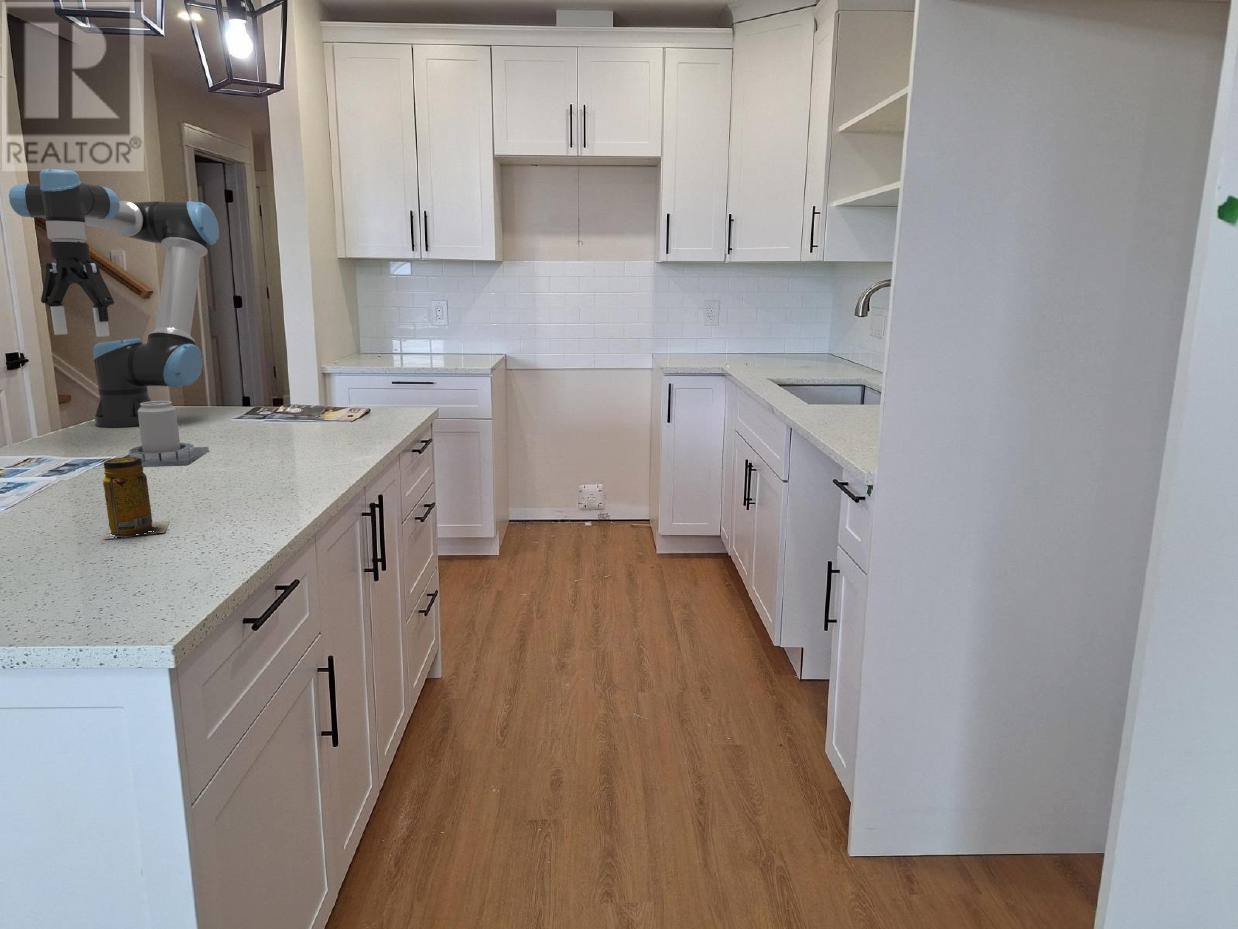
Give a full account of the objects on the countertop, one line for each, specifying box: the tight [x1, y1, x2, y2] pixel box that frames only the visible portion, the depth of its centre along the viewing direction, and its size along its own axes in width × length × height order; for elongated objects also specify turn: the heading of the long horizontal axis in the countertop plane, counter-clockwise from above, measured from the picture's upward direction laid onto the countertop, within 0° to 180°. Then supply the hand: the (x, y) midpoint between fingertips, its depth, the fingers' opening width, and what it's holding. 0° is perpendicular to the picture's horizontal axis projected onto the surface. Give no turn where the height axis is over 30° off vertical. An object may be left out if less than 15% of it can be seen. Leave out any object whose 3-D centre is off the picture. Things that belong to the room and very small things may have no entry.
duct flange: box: [124, 441, 210, 467], centre depth 182 cm, size 15×15×2 cm
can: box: [138, 400, 181, 453], centre depth 180 cm, size 8×8×12 cm
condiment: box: [102, 456, 170, 540], centre depth 130 cm, size 7×8×12 cm
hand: (81, 335), depth 187 cm, fingers open, 13 cm apart
